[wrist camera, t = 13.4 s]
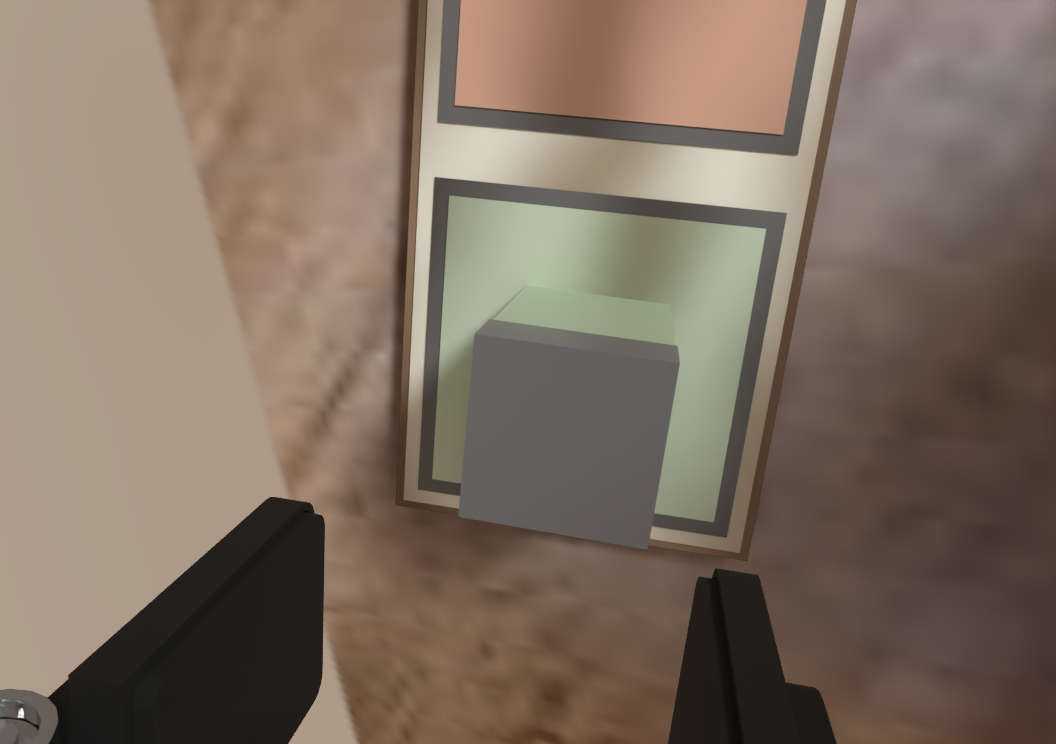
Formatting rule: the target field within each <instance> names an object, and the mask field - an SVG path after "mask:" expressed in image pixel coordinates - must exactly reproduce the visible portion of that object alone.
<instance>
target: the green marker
mask: <svg viewBox="0 0 1056 744" xmlns="http://www.w3.org/2000/svg"><path fill="white" fill-rule="evenodd" d="M679 366H680V360H679V352H678V346H676V345H675V341H674V332H673V322H672V313H671V305H670V304H663V303H655V302H648V301H640V300H633V299H626V298H618V297H611V296H603V295H596V294H589V293H581V292H574V291H567V290H559V289H552V288H544V287H537V286H530V285H527V286H526V287H525V288H524V289H523V290H522V291H521V292H520V293H519V294H518V295H517V296H516V297H515V298H514V299H513V300H512V301H511V302H510V303H509V304H508V305H507V306H506V307H505V308H504V309H503V310H502V311H501V312H500V313H499V314H498V315H497V316H496V317H495V318H494V319H489V320H488V321H487V322H486V323H485V324H484V325H483V326H482V327H481V328H480V329H479V330H478V331H477V332H476V333H475V335H474V347H473V358H472V369H471V380H470V391H469V402H468V414H467V425H466V436H465V447H464V458H463V469H462V480H461V492H460V503H459V514H458V517H462V518H468V519H473V520H479V521H485V522H490V523H496V524H502V525H508V526H513V527H519V528H525V529H531V530H536V531H542V532H548V533H553V534H559V535H565V536H571V537H576V538H582V539H588V540H593V541H599V542H605V543H611V544H616V545H622V546H628V547H633V548H639V549H645V550H648V546H649V540H650V535H651V529H652V523H653V517H654V511H655V505H656V500H657V494H658V488H659V482H660V476H661V471H662V465H663V459H664V453H665V447H666V441H667V436H668V430H669V424H670V418H671V412H672V406H673V401H674V395H675V389H676V383H677V377H678V372H679Z"/></svg>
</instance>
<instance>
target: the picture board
mask: <svg viewBox="0 0 1056 744" xmlns="http://www.w3.org/2000/svg"><path fill="white" fill-rule="evenodd" d="M856 3H857V0H419V5H418V27H417V49H416V71H415V93H414V115H413V137H412V159H411V181H410V203H409V225H408V247H407V269H406V291H405V313H404V335H403V357H402V379H401V401H400V423H399V445H398V467H397V489H396V505H398V506H405V507H411V508H417V509H423V510H430V511H436V512H442V513H449V514H455V515H458V514H459V503H460V492H461V480H462V469H463V458H464V447H465V436H466V425H467V414H468V402H469V391H470V380H471V369H472V358H473V347H474V335H475V333H476V332H477V331H478V330H479V329H480V328H481V327H482V326H483V325H484V324H485V323H486V322H487V321H488V320H489V319H494V318H495V317H496V316H497V315H498V314H499V313H500V312H501V311H502V310H503V309H504V308H505V307H506V306H507V305H508V304H509V303H510V302H511V301H512V300H513V299H514V298H515V297H516V296H517V295H518V294H519V293H520V292H521V291H522V290H523V289H524V288H525V287H526V286H527V285H530V286H537V287H544V288H552V289H559V290H567V291H574V292H581V293H589V294H596V295H603V296H611V297H618V298H626V299H633V300H640V301H648V302H655V303H663V304H670V305H671V313H672V322H673V332H674V341H675V345H676V346H678V352H679V360H680V366H679V372H678V377H677V383H676V389H675V395H674V401H673V406H672V412H671V418H670V424H669V430H668V436H667V441H666V447H665V453H664V459H663V465H662V471H661V476H660V482H659V488H658V494H657V500H656V505H655V511H654V517H653V523H652V529H651V535H650V540H649V546H656V547H662V548H668V549H674V550H681V551H687V552H693V553H700V554H706V555H712V556H718V557H725V558H731V559H737V560H744V561H747V560H748V554H749V549H750V544H751V539H752V534H753V529H754V524H755V519H756V514H757V508H758V503H759V498H760V493H761V488H762V483H763V478H764V473H765V468H766V462H767V457H768V452H769V447H770V442H771V437H772V432H773V427H774V422H775V417H776V411H777V406H778V401H779V396H780V391H781V386H782V381H783V376H784V371H785V365H786V360H787V355H788V350H789V345H790V340H791V335H792V330H793V325H794V320H795V314H796V309H797V304H798V299H799V294H800V289H801V284H802V279H803V274H804V268H805V263H806V258H807V253H808V248H809V243H810V238H811V233H812V228H813V222H814V217H815V212H816V207H817V202H818V197H819V192H820V187H821V182H822V177H823V171H824V166H825V161H826V156H827V151H828V146H829V141H830V136H831V131H832V125H833V120H834V115H835V110H836V105H837V100H838V95H839V90H840V85H841V79H842V74H843V69H844V64H845V59H846V54H847V49H848V44H849V39H850V34H851V28H852V23H853V18H854V13H855V8H856Z"/></svg>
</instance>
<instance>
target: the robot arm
mask: <svg viewBox="0 0 1056 744" xmlns="http://www.w3.org/2000/svg"><path fill="white" fill-rule="evenodd" d="M324 541H325V523H324V518H323V516H322V515H318V514H314V509H313V506H312V505H311V504H310V503H308V502H302V501H295V500H289V499H282V498H277V497H270V498H268V499H267V500H265V501H264V502H263V503H262V504H261V505H260V506H259V507H258V508H256V509H255V510H254V511H253V512H252V513H251V514H250V515H249V516H247V517H246V518H245V519H244V520H243V521H242V522H241V523H240V524H238V525H237V526H236V527H235V528H234V529H233V530H232V531H231V532H229V533H228V534H227V535H226V536H225V537H224V538H223V539H222V540H220V542H218V543H217V544H216V545H215V546H214V547H212V548H211V549H210V550H209V551H208V552H207V553H206V554H205V555H204V556H202V557H201V558H200V559H199V560H198V561H197V562H196V563H194V564H193V565H192V566H191V567H190V568H189V569H188V570H187V571H185V572H184V573H183V574H182V575H181V576H180V577H179V578H177V579H176V580H175V581H174V582H173V583H172V584H171V585H170V586H168V587H167V588H166V589H165V590H164V591H163V592H162V593H161V594H159V595H158V596H157V597H156V598H155V599H154V600H153V601H152V602H150V603H149V604H148V605H147V606H146V607H145V608H144V609H143V610H141V611H140V612H139V613H138V614H137V615H136V616H135V617H134V618H132V619H131V620H130V621H129V622H128V623H127V624H126V625H124V626H123V627H122V628H121V629H120V630H119V631H118V632H117V633H116V634H114V635H113V636H112V637H111V638H110V639H109V640H108V641H106V642H105V643H104V644H103V645H102V646H101V647H100V648H99V649H97V650H96V651H95V652H94V653H93V654H92V655H91V656H89V657H88V658H87V659H86V660H85V661H84V662H83V663H82V664H80V665H79V666H78V667H77V668H76V669H75V670H74V671H73V672H71V673H70V674H69V675H68V678H69V679H68V680H67V681H66V682H65V683H64V684H62V685H61V686H60V687H59V688H58V689H57V690H56V691H55V692H54V693H52V694H51V695H50V696H49V697H48V698H47V697H45V696H43V695H40V694H38V693H35V692H32V691H25V690H15V689H6V690H0V744H288V743H289V741H290V739H291V738H292V736H293V735H294V733H295V732H296V730H297V728H298V727H299V725H300V724H301V722H302V720H303V719H304V717H305V716H306V714H307V712H308V711H309V709H310V708H311V706H312V704H313V703H314V701H315V699H316V697H317V694H318V692H319V688H320V685H321V680H322V665H323V661H322V660H323V603H324ZM668 744H836V740H835V737H834V734H833V731H832V727H831V724H830V721H829V718H828V715H827V711H826V708H825V705H824V702H823V699H822V697H821V694H820V692H819V691H818V690H817V689H816V688H813V687H808V686H802V685H796V684H791V683H785V679H784V675H783V671H782V667H781V663H780V659H779V655H778V650H777V646H776V642H775V638H774V634H773V630H772V626H771V622H770V618H769V614H768V610H767V606H766V602H765V598H764V594H763V590H762V586H761V582H760V579H759V576H758V575H754V574H748V573H741V572H735V571H729V570H723V569H717V568H716V569H715V570H714V573H713V576H712V579H710V578H704V577H698V579H697V583H696V588H695V593H694V599H693V605H692V610H691V616H690V622H689V627H688V633H687V639H686V644H685V650H684V656H683V662H682V667H681V673H680V679H679V684H678V690H677V696H676V701H675V707H674V713H673V718H672V724H671V730H670V735H669V742H668Z"/></svg>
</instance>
